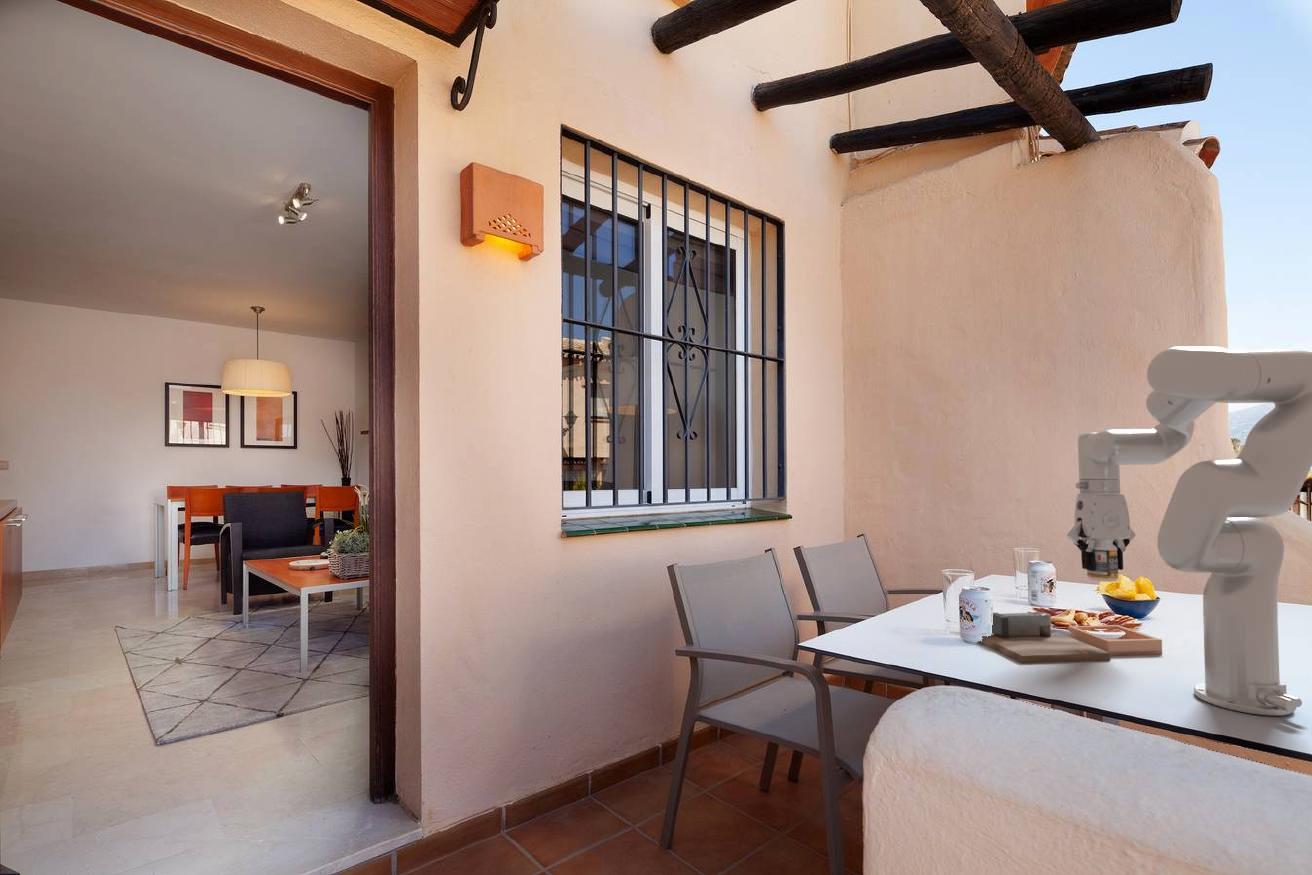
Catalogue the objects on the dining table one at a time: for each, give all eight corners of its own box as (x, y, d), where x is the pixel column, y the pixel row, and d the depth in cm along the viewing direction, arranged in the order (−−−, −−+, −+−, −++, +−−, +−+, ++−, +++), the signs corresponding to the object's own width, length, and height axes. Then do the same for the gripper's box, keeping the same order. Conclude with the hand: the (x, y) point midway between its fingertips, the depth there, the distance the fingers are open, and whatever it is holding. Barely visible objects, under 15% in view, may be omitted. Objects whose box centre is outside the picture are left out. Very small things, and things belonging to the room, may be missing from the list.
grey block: (1042, 631, 149) (1042, 611, 149) (1056, 636, 145) (1055, 616, 145) (990, 632, 148) (989, 612, 148) (1001, 637, 144) (1001, 617, 144)
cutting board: (1110, 660, 133) (1110, 652, 133) (1021, 663, 132) (1021, 655, 132) (1058, 639, 149) (1058, 631, 149) (978, 641, 147) (978, 634, 147)
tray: (1162, 653, 137) (1161, 639, 137) (1108, 655, 136) (1108, 641, 136) (1118, 638, 149) (1117, 624, 149) (1068, 639, 148) (1068, 626, 148)
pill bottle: (1118, 583, 140) (1116, 536, 140) (1086, 580, 143) (1084, 535, 144) (1118, 579, 144) (1116, 534, 145) (1087, 576, 148) (1086, 533, 148)
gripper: (1075, 488, 140) (1078, 572, 139) (1149, 487, 142) (1153, 571, 141) (1051, 487, 147) (1054, 567, 147) (1121, 486, 149) (1125, 565, 148)
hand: (1102, 568), depth 144 cm, fingers closed on pill bottle, 5 cm apart
